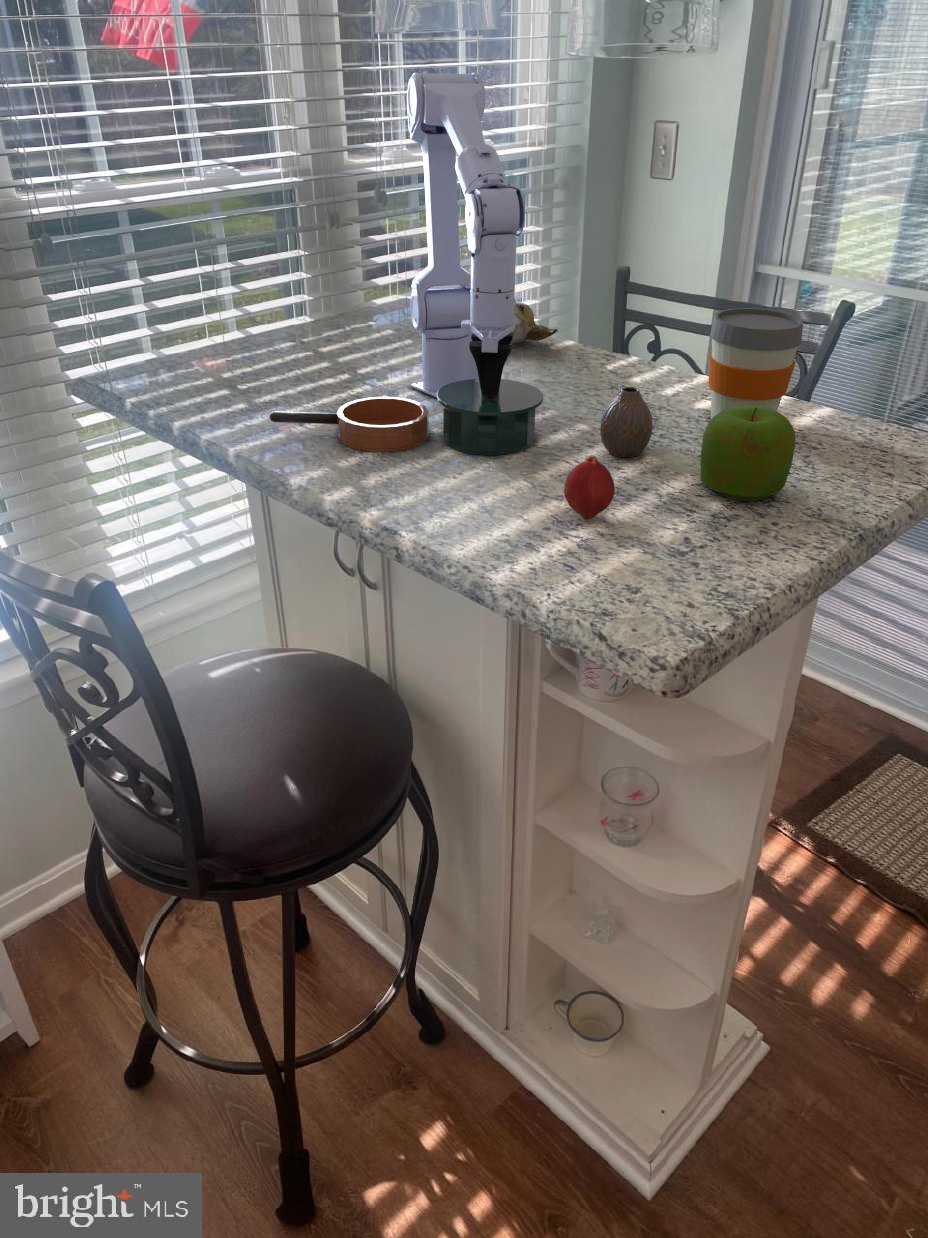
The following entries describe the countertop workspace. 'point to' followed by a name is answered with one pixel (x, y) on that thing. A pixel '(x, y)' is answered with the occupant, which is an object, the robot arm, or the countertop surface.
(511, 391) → the lid
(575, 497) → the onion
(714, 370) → the reusable coffee cup
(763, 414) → the apple
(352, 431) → the pan
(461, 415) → the pot
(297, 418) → the pan handle
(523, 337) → the ceramic sculpture
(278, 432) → the countertop surface
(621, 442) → the vase
